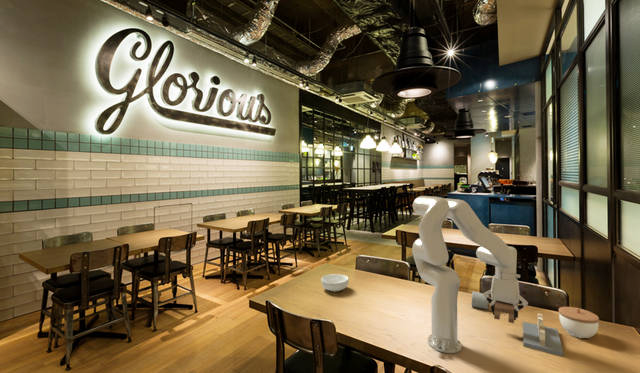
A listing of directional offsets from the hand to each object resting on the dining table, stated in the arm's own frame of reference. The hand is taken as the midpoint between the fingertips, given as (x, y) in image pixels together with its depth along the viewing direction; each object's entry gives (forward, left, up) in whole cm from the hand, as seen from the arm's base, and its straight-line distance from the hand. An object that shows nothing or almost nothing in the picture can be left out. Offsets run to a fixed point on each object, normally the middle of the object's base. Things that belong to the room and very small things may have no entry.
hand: (504, 316), depth 121 cm
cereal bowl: (+2, +87, -8) cm, 88 cm away
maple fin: (+3, -13, -6) cm, 14 cm away
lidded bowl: (+16, -26, -8) cm, 31 cm away
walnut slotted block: (0, 0, -1) cm, 1 cm away
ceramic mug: (+24, +11, -8) cm, 27 cm away
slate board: (+3, -13, -7) cm, 15 cm away
